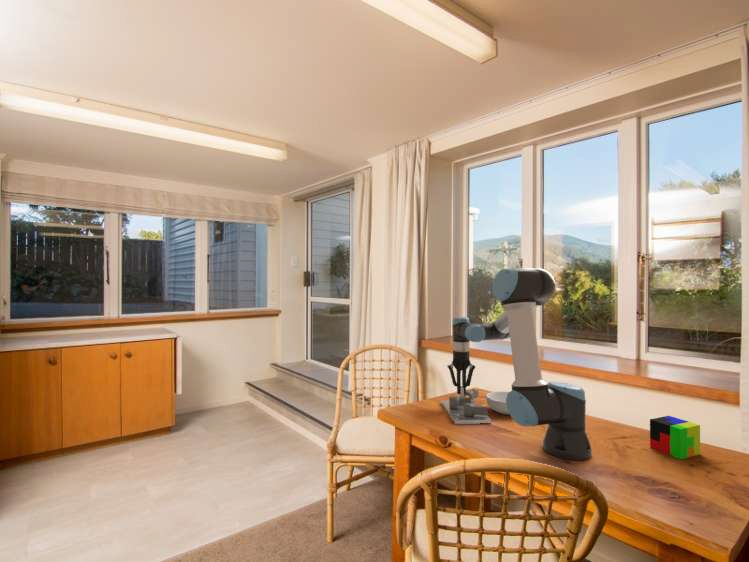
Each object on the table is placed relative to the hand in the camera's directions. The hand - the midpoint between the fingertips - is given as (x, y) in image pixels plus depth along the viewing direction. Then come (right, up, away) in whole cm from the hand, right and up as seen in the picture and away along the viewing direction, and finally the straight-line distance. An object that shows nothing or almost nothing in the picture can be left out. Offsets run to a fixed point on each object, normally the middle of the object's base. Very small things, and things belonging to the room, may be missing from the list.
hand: (461, 400), depth 182 cm
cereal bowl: (+19, -4, -5) cm, 20 cm away
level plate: (0, -3, -6) cm, 7 cm away
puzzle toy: (+63, -3, -47) cm, 79 cm away
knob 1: (-2, -2, -3) cm, 4 cm away
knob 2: (+6, -2, +7) cm, 10 cm away
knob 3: (+3, -2, -15) cm, 15 cm away
